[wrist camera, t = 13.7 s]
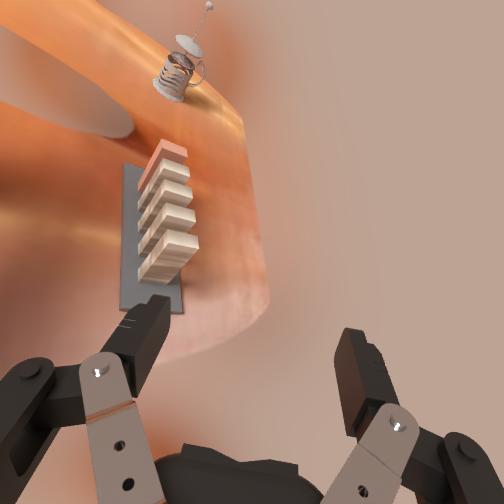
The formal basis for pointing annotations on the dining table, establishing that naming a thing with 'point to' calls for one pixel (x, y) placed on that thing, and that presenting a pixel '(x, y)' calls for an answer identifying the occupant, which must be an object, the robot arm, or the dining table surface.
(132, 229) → the domino board
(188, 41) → the french press
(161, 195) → the domino
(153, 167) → the end domino
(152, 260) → the domino
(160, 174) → the domino
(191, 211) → the domino
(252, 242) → the dining table surface
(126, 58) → the dining table surface
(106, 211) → the dining table surface
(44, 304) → the dining table surface
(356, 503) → the robot arm
